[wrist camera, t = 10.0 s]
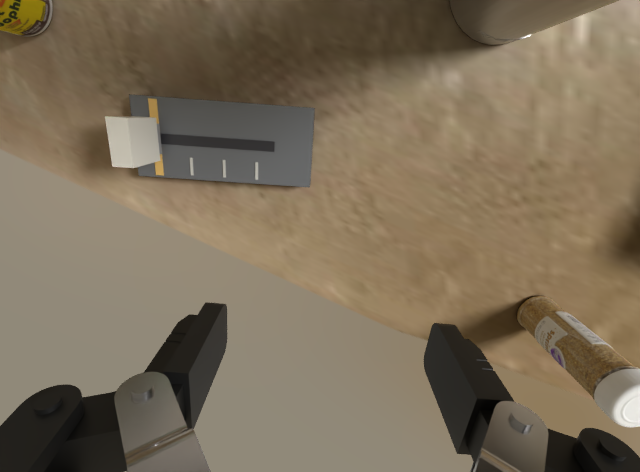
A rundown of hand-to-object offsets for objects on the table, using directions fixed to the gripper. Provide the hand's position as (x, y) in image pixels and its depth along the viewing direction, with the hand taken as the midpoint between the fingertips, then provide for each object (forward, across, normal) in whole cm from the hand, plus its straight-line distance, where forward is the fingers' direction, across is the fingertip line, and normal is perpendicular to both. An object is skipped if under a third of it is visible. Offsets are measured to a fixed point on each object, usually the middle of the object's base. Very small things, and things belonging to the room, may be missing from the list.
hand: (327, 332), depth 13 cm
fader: (+20, +16, -4) cm, 25 cm away
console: (+22, +10, -4) cm, 24 cm away
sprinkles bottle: (+22, -26, +11) cm, 36 cm away
